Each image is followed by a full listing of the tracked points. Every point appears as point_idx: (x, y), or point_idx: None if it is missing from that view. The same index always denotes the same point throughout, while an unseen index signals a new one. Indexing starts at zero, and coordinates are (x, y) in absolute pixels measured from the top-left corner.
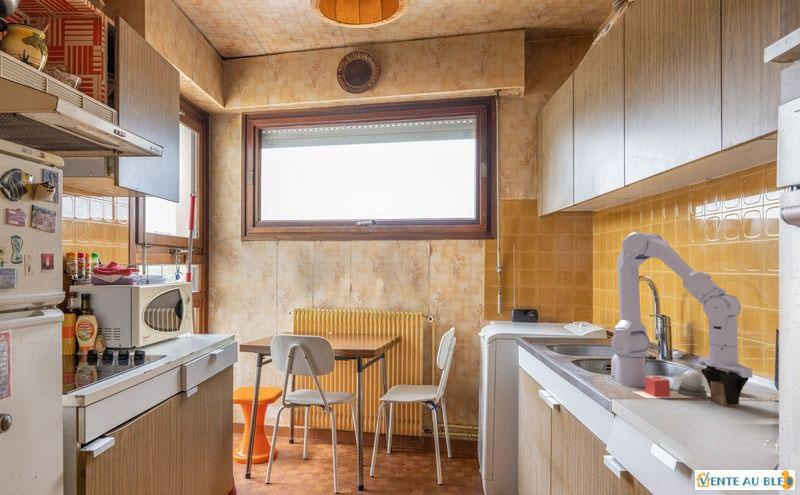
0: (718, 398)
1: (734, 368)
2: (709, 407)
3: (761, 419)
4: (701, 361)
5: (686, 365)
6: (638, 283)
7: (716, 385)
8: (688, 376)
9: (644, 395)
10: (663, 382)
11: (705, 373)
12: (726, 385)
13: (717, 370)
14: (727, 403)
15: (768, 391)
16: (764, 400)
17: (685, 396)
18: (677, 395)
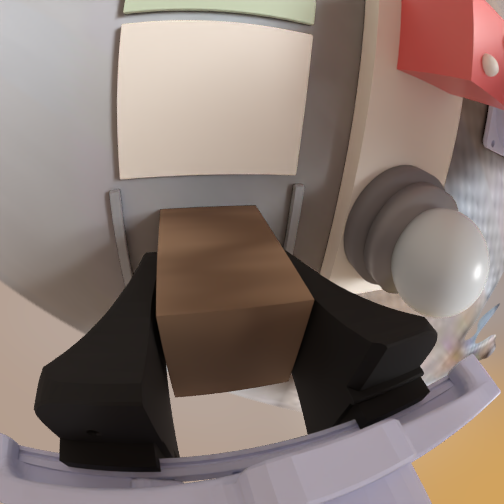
0: (203, 237)
1: (34, 501)
2: (231, 176)
3: (45, 286)
4: (474, 385)
5: (478, 349)
6: None
7: (234, 292)
8: (459, 244)
9: None
10: (463, 38)
11: (383, 324)
12: (117, 326)
13: (337, 415)
14: None
15: None
16: (280, 397)
17: (378, 153)
18: (400, 126)
